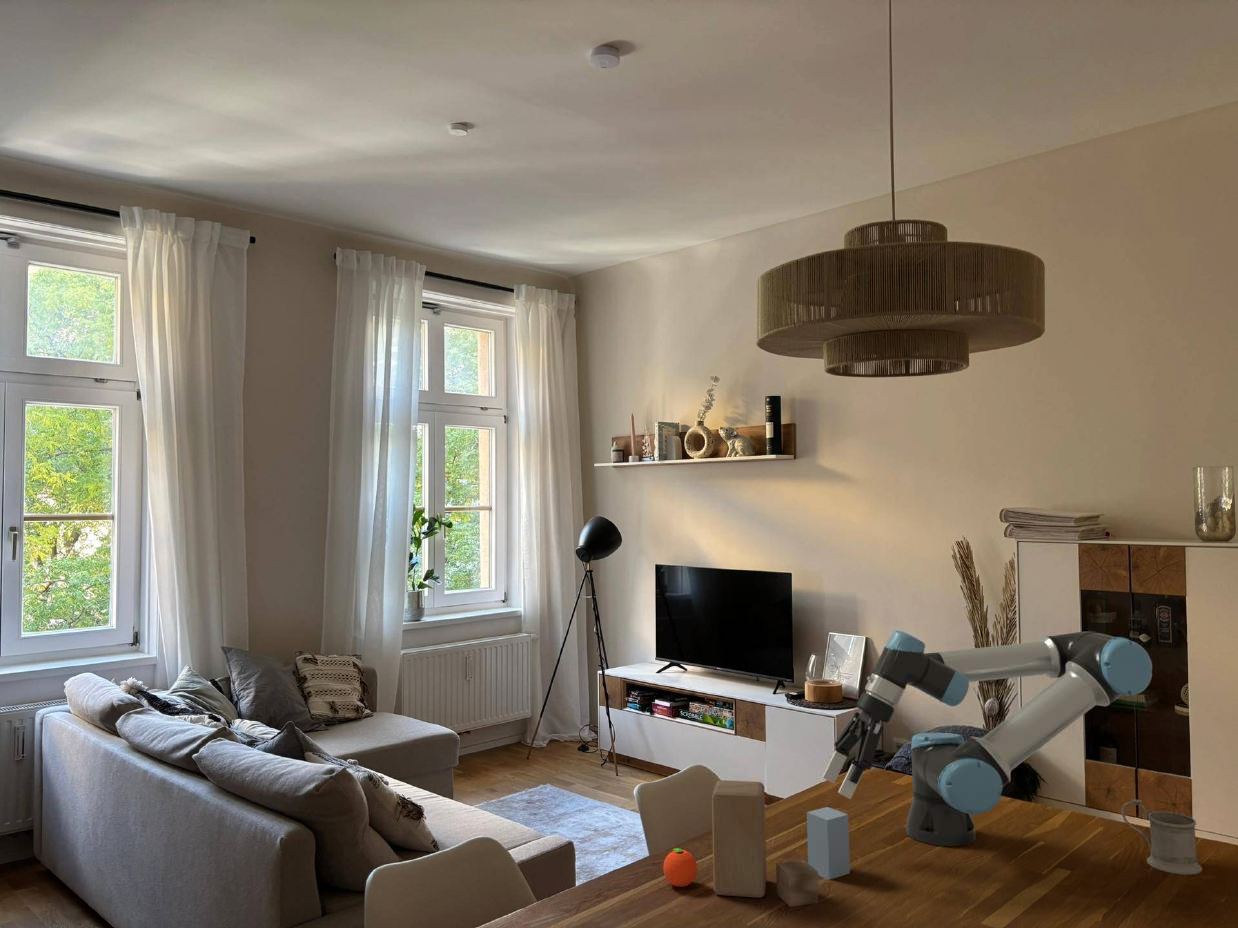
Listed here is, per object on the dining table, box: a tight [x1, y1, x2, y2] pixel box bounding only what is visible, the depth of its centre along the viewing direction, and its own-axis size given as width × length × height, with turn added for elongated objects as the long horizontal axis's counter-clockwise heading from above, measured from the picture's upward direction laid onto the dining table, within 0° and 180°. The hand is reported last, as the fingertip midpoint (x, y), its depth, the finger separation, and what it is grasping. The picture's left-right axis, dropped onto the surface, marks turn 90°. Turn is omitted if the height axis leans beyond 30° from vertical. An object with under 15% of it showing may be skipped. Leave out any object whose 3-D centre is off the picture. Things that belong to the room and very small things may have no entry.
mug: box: [1121, 799, 1203, 875], centre depth 192 cm, size 14×10×12 cm
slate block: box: [806, 806, 851, 881], centre depth 190 cm, size 6×6×12 cm
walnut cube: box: [775, 859, 819, 907], centre depth 177 cm, size 6×6×6 cm
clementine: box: [662, 847, 698, 888], centre depth 184 cm, size 8×7×7 cm
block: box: [711, 779, 767, 899], centre depth 182 cm, size 10×10×20 cm
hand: (835, 787), depth 195 cm, fingers open, 13 cm apart
